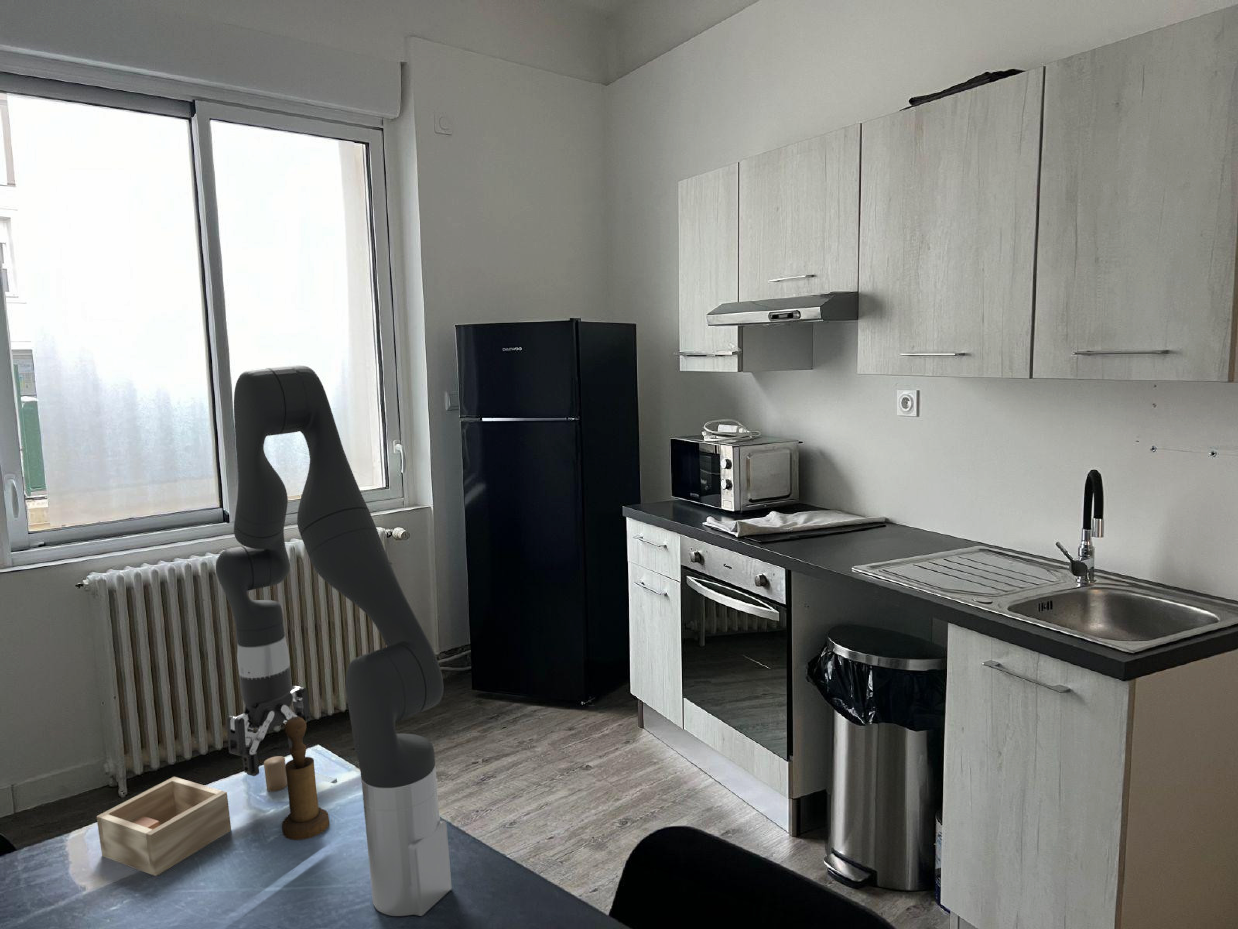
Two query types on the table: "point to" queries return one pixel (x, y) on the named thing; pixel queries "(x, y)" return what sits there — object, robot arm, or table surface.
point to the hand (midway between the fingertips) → (274, 762)
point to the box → (164, 825)
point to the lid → (282, 774)
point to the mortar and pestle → (301, 789)
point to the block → (147, 822)
